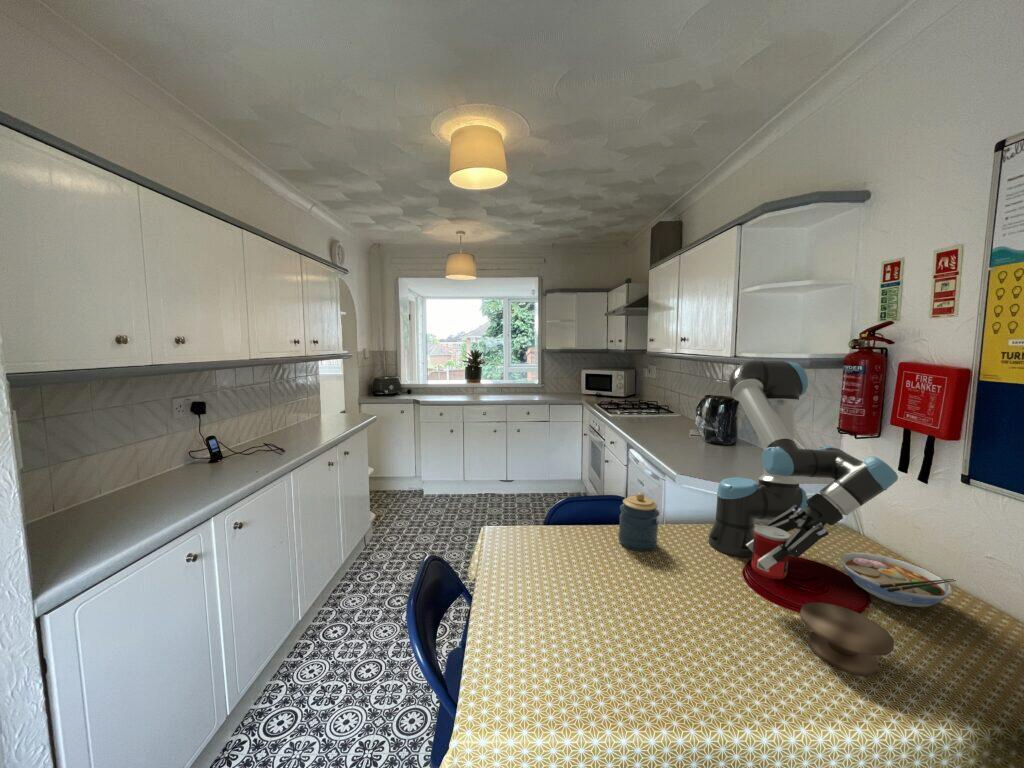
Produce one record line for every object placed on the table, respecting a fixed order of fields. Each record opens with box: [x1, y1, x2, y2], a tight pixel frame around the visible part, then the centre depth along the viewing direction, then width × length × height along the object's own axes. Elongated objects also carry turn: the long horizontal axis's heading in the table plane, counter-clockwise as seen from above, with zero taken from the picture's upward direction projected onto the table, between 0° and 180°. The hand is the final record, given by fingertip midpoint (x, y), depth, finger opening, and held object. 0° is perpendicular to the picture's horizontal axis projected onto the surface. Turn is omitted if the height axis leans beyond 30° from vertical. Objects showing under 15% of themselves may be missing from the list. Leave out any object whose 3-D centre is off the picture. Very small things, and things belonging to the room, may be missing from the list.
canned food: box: [751, 524, 791, 580], centre depth 108 cm, size 8×8×11 cm
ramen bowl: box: [840, 552, 957, 608], centre depth 114 cm, size 25×23×8 cm
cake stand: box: [799, 602, 895, 677], centre depth 91 cm, size 16×16×7 cm
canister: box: [617, 492, 660, 552], centre depth 142 cm, size 13×13×18 cm
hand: (755, 556), depth 109 cm, fingers closed on canned food, 8 cm apart
